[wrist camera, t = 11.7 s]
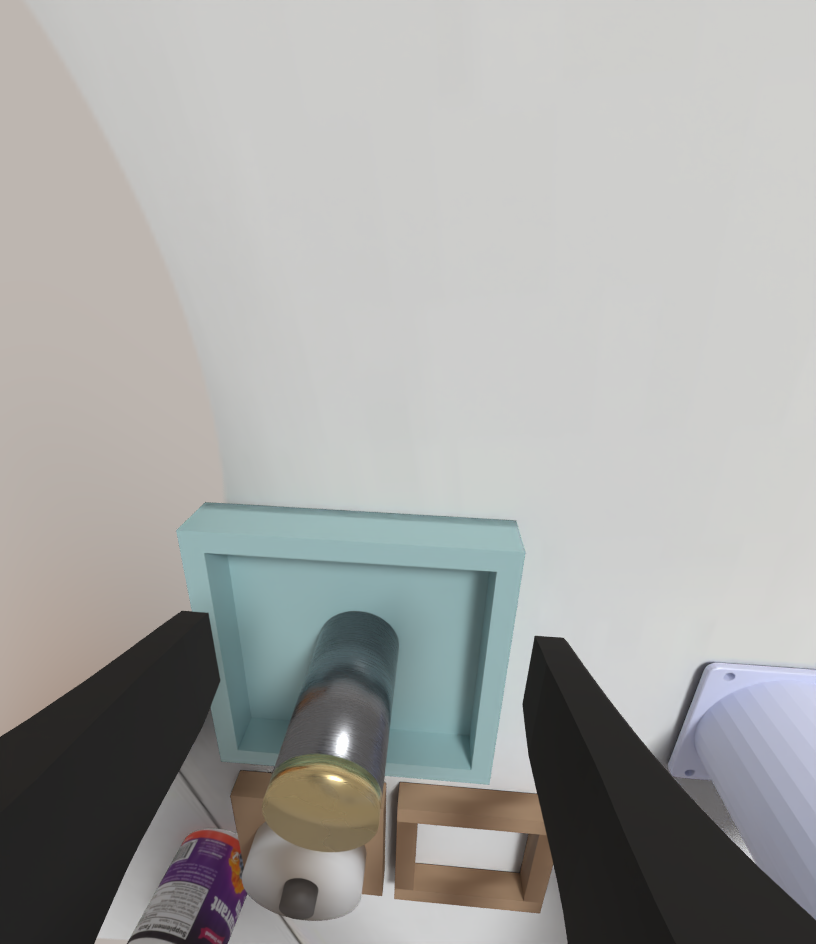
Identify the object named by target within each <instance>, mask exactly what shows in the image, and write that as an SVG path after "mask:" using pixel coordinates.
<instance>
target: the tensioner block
mask: <svg viewBox="0 0 816 944" xmlns="http://www.w3.org/2000/svg"><path fill="white" fill-rule="evenodd" d="M271 776H272V773H265V772H253V771H242V770H240V773H239V775H238V778H237V780H236V783H235V785H234V787H233V790H232V792H231V795H230V797H231V803H232V808H233V813H234V818H235V823H236V829H237V834H238V839H239V844H240V850H241V855H242V860H243V865H244V870H243V873H242V883H243V887H244V889H245V890H246V892H247V893H248V895H249V896H250V897H251V898H252V899H253V900H254V901H256V902H257V903H258V904H260V905H261V906H263V907H264V908H266V909H268V910H270V911H272V912H274V913H277V914H280V915H282V916H286V917H289V918H293V919H299V920H309V921H322V920H330V919H335V918H339V917H342V916H344V915H346V914H348V913H350V912H351V911H353V910H354V909H355V908H356V907H357V906H358V904H359V903H360V900H361V895H362V894H367V895H377V896H382V892H383V882H384V871H385V828H386V783H384V786H383V795H382V804H381V812H380V821H379V828H378V830H377V833H376V834H375V836H374V837H373V838H372V839H371V840H370V841H369V842H368V843H366V844H365V845H363V846H361V847H358V848H356V849H353V850H349V851H344V852H319V851H313V850H309V849H305V848H302V847H299V846H296V845H294V844H292V843H290V842H288V841H286V840H284V839H283V838H281V837H280V836H279V835H277V834H276V833H275V832H274V831H273V830H272V829H271V828H270V827H269V826H268V824H267V823H266V821H265V819H264V816H263V813H262V803H263V799H264V796H265V793H266V791H267V788H268V785H269V782H270V779H271ZM418 823H419V824H430V825H441V826H452V827H463V828H474V829H485V830H496V831H507V832H518V833H529V834H528V839H527V843H526V848H525V852H524V857H523V861H522V866H521V870H520V873H512V872H502V871H491V870H481V869H471V868H460V867H450V866H439V865H429V864H418V863H415V856H416V841H417V825H418ZM552 867H553V860H552V856H551V852H550V847H549V843H548V839H547V834H546V830H545V825H544V821H543V817H542V812H541V808H540V804H539V799H538V795H537V794H530V793H519V792H507V791H496V790H484V789H473V788H461V787H450V786H438V785H427V784H415V783H404V782H400V784H399V796H398V808H397V836H396V865H395V894H394V899H400V900H410V901H420V902H430V903H440V904H450V905H460V906H470V907H480V908H491V909H501V910H511V911H521V912H531V913H540V911H541V908H542V904H543V900H544V896H545V893H546V889H547V885H548V881H549V878H550V874H551V870H552Z"/></svg>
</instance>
